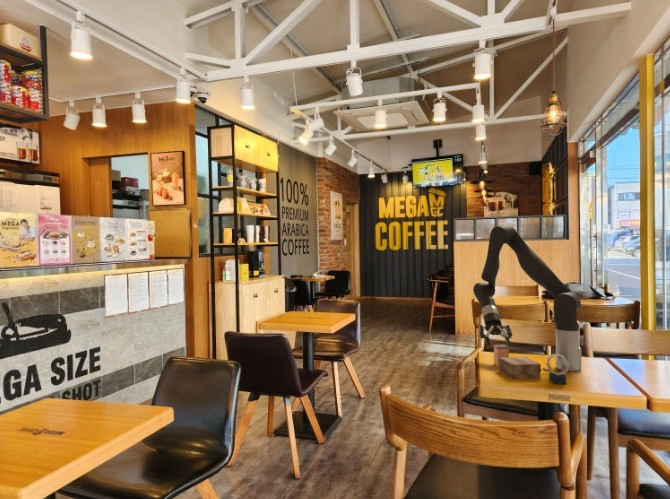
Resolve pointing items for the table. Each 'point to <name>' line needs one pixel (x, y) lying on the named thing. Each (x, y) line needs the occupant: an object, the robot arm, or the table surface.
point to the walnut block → (519, 367)
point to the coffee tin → (500, 353)
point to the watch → (558, 376)
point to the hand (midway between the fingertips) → (498, 345)
